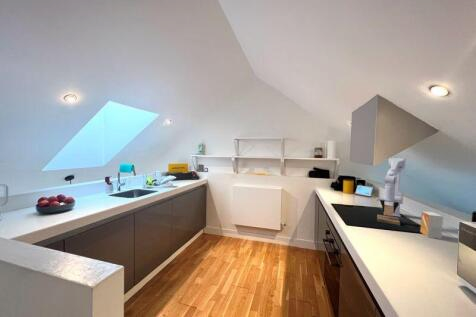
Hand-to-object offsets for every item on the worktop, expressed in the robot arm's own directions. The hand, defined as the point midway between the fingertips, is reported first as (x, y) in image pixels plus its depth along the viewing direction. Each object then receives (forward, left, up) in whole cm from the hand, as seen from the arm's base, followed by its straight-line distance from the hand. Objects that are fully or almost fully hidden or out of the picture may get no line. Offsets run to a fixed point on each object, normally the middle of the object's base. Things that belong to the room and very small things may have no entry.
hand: (388, 212), depth 143 cm
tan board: (0, 0, -6) cm, 6 cm away
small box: (+16, +19, -6) cm, 26 cm away
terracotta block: (0, 0, -2) cm, 2 cm away
